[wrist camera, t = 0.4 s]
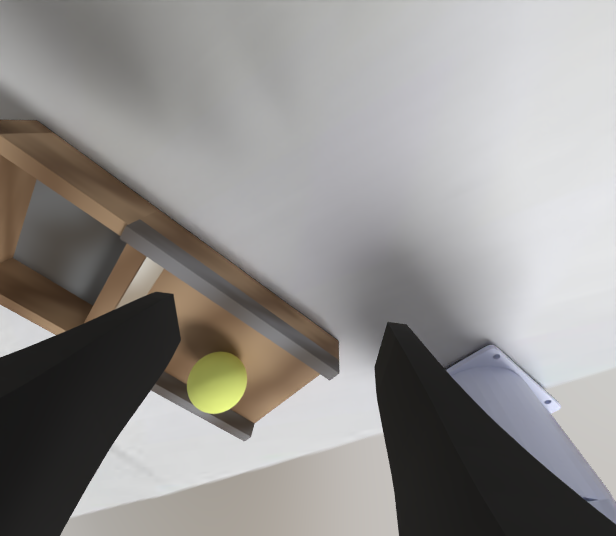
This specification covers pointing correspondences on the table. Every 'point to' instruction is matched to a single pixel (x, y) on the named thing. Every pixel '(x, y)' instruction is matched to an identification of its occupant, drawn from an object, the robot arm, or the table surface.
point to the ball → (217, 382)
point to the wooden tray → (141, 275)
